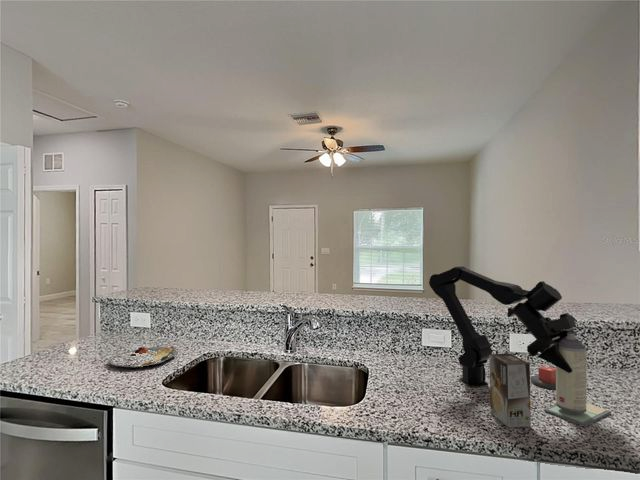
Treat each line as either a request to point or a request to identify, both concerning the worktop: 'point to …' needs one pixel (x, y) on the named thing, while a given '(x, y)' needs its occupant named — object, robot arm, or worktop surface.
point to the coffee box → (510, 390)
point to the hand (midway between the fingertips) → (576, 369)
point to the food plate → (161, 355)
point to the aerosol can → (572, 376)
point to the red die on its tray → (542, 384)
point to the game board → (579, 414)
